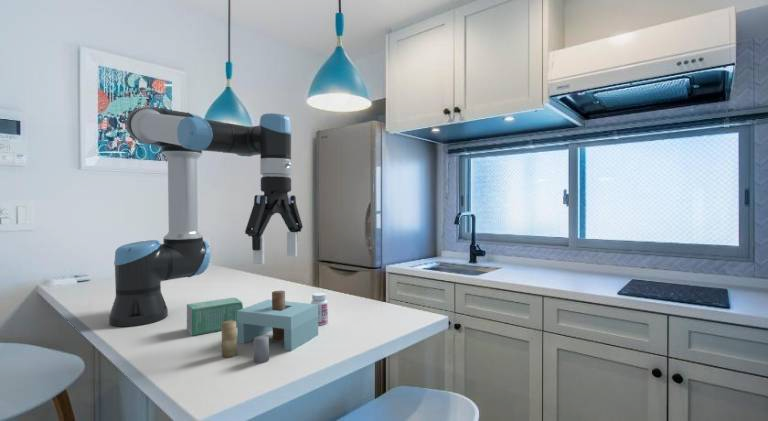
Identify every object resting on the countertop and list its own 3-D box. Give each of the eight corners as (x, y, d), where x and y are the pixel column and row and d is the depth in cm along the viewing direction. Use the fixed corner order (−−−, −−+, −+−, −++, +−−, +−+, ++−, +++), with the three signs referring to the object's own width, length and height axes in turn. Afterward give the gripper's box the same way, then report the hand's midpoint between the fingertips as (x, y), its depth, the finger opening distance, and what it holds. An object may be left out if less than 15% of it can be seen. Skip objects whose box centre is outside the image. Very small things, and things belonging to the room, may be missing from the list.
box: (244, 326, 112) (243, 300, 112) (192, 337, 104) (191, 308, 104) (236, 320, 118) (235, 295, 118) (186, 330, 110) (185, 303, 110)
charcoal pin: (250, 362, 87) (250, 339, 87) (260, 356, 90) (260, 334, 90) (262, 364, 86) (262, 341, 86) (272, 358, 89) (271, 336, 88)
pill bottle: (324, 326, 112) (324, 296, 111) (308, 325, 113) (308, 295, 112) (330, 321, 116) (329, 292, 116) (314, 320, 117) (314, 291, 117)
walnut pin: (270, 339, 101) (269, 292, 100) (277, 335, 104) (277, 290, 103) (280, 341, 100) (279, 293, 99) (288, 337, 103) (287, 291, 102)
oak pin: (218, 356, 90) (218, 323, 90) (229, 351, 93) (228, 319, 93) (230, 358, 89) (229, 325, 89) (240, 353, 92) (239, 321, 92)
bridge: (237, 342, 99) (236, 310, 99) (268, 328, 110) (267, 299, 110) (291, 350, 93) (290, 316, 93) (318, 334, 104) (317, 304, 104)
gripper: (254, 173, 88) (255, 268, 88) (314, 178, 111) (315, 254, 112) (228, 173, 91) (229, 266, 91) (292, 178, 114) (292, 252, 114)
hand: (276, 259), depth 101 cm, fingers open, 13 cm apart
